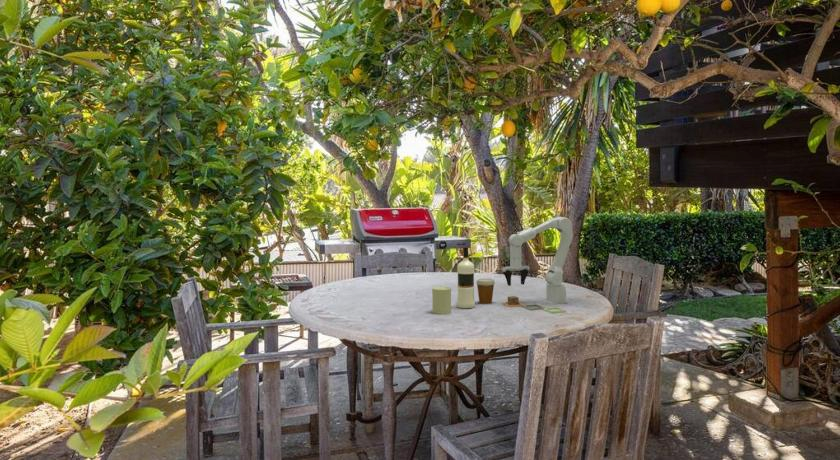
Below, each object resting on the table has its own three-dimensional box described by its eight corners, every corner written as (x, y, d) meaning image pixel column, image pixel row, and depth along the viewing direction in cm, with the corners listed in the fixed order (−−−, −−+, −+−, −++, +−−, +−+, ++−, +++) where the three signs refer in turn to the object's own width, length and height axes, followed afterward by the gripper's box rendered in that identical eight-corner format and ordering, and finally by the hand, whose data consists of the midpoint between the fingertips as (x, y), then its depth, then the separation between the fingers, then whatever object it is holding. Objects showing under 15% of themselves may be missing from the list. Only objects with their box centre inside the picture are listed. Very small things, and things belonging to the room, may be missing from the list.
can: (453, 313, 275) (453, 288, 274) (434, 314, 274) (434, 289, 273) (449, 309, 284) (449, 285, 283) (430, 310, 283) (430, 285, 282)
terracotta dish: (516, 303, 296) (516, 301, 296) (524, 306, 288) (524, 304, 288) (502, 304, 293) (502, 302, 293) (509, 308, 286) (509, 305, 286)
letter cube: (514, 303, 293) (514, 295, 293) (518, 305, 289) (518, 297, 289) (507, 304, 292) (507, 296, 292) (511, 306, 288) (511, 297, 288)
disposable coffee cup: (494, 305, 292) (494, 281, 292) (475, 304, 294) (475, 281, 293) (495, 301, 302) (495, 278, 301) (477, 301, 304) (477, 278, 303)
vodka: (453, 307, 288) (452, 247, 286) (462, 304, 296) (462, 245, 293) (469, 309, 283) (469, 248, 280) (478, 306, 290) (478, 246, 288)
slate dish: (536, 306, 289) (536, 304, 289) (544, 309, 281) (544, 307, 281) (522, 307, 286) (522, 305, 286) (530, 311, 279) (530, 308, 279)
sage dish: (557, 309, 282) (557, 307, 282) (566, 312, 274) (566, 310, 274) (542, 310, 279) (542, 308, 279) (551, 314, 272) (551, 311, 271)
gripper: (524, 256, 300) (524, 282, 301) (499, 258, 295) (499, 284, 296) (531, 258, 293) (531, 284, 294) (505, 259, 288) (505, 286, 289)
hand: (515, 284), depth 295 cm, fingers open, 7 cm apart
